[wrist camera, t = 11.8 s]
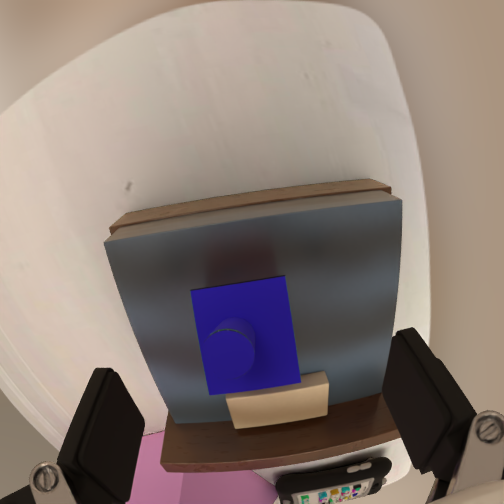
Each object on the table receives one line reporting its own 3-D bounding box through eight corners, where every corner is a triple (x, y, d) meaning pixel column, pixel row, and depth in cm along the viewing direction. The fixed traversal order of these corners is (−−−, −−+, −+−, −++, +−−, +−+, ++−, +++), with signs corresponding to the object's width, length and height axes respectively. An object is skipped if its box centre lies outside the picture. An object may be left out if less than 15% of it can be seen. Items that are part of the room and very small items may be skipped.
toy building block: (276, 276, 17) (294, 272, 9) (288, 353, 16) (313, 412, 8) (210, 287, 17) (168, 292, 9) (223, 362, 16) (195, 427, 8)
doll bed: (125, 213, 19) (56, 273, 10) (370, 178, 19) (456, 216, 10) (179, 384, 24) (166, 472, 16) (364, 356, 24) (404, 436, 16)
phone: (272, 471, 31) (275, 500, 27) (388, 443, 31) (399, 469, 27) (281, 497, 35) (284, 521, 31) (378, 474, 35) (385, 496, 31)
